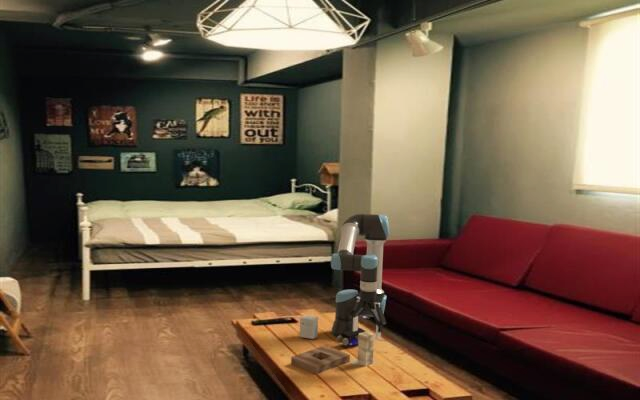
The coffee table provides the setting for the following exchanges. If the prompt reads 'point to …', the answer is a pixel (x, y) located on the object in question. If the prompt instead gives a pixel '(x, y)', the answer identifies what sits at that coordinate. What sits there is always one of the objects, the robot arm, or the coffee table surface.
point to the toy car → (346, 337)
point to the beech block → (365, 348)
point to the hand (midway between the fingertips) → (366, 334)
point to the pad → (357, 363)
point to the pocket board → (315, 365)
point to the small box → (308, 326)
